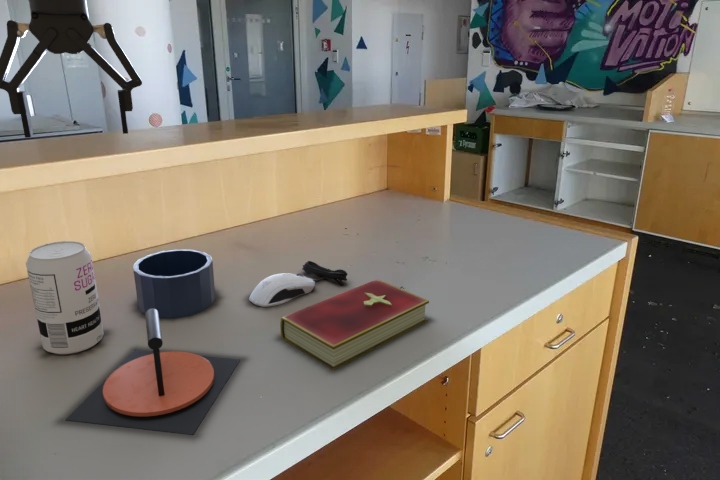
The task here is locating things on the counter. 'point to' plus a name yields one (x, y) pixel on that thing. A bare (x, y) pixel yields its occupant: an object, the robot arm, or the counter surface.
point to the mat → (173, 422)
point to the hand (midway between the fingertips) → (78, 134)
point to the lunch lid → (158, 378)
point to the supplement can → (65, 296)
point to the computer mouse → (291, 285)
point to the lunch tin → (175, 282)
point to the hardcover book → (353, 322)
